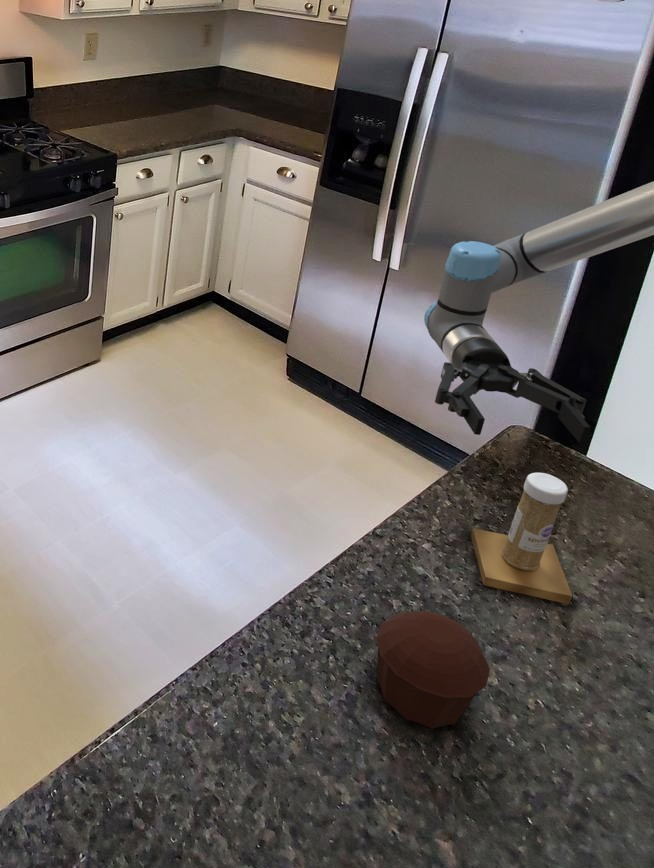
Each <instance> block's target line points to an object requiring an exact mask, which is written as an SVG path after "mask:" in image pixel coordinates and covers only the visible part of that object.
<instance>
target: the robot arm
mask: <svg viewBox="0 0 654 868" xmlns="http://www.w3.org/2000/svg"><path fill="white" fill-rule="evenodd" d="M651 236H654V181H651V182H648V183H645V184H643V185H641V186H639V187H635V188H633V189H631V190H628V191H626V192H624V193H621V194H619V195H616V196H614V197H611V198H608V199H606V200H604V201H601V202H599V203H596V204H593V205H591V206H589V207H586V208H584V209H582V210H579V211H577V212H574V213H572V214H569V215H567V216H563V217H561V218H559V219H556V220H554V221H551V222H549V223H547V224H544V225H542V226H539V227H537V228H534V229H531V230H529V231H528V232H524V233H522V234H519V235H517V236H514V237H511V238H508V239H506V240H503V241H501V242H499V243H496V244H494V245H491V244H489V243H487V242H480V241H472V240H469V241H460V242H457V243H455V244H453V246H452V247H451V248H450V251H449V254H448V257H447V259H446V262H445V265H444V272H443V275H442V281H441V284H440V289H439V294H438V298H437V300H436V301H434V302H433V303H432V304H431V305H430V306H429V307H428V308H427V309H426V311H425V313H424V316H423V317H424V318H423V321H424V325H425V327H426V329H427V330H428V331H427V332H428V334H429V337H430V338H431V339H432V340H433V341H434V342H435V343H436V345H437V347H438V348H439V349H440V350H441V352H442V353H443V354H444V356H445V358H446V359H447V361H448V362H447V361H445V362H444V363H443V365H442V369H441V373H440V378H441V380H440V383H439V385H438V388H437V392H436V396H435V399H434V404H437V405H444V404H448V407H447V411H449V412H450V413H456V415H457V416H459V417H460V418H464V420H465V422H466V423H467V425H468V427H469V428H470V430H471V431H472V433H473V434H474V435H477V436H480V435H481V434H482V431H483V427H484V423H485V420H486V419H485V416H483V414H482V412H481V411H480V409H479V408H478V407H477V405H476V404H475V402H474V401H473V399H472V398H471V397H472V396H473V395H474V396H475V395H476V394H478V393H479V392H480V391H482V390H483V391H484V392H490V393H491V392H497V393H505V394H508V395H510V396H512V397H514V398H517V399H518V398H519V399H520V398H523V399H526V400H528V401H529V402H532V403H534V404H536V405H538V406H541V407H543V408H544V409H545V408H546V409H548V410H549V411H552V412H555V413H556V414H557V418H558V420H559V421H560V422H561V423H562V424H563V425H564V427H565V428H566V429H567V430H568V431H569V433H570V434H571V435H572V436H573V438H575V441H577V442H578V444H586V442H587V440H588V436H589V434H590V431H591V428H592V427H591V426H590V425H589V423H588V422H587V421H586V416H585V415H584V414H583V411H584V408H585V405H586V403H587V399H586V398H584V397H582V396H581V395H579V394H577V393H575V392H573V391H571V390H570V389H568V388H566V387H564V386H563V385H561V384H559V383H557V382H555V381H553V380H552V379H550V378H548V377H546V376H545V375H543V374H542V372H540V371H538V370H537V369H535V368H528V370H527V372H520V371H519V370H517V369H515V368H514V367H513V366H512V364H511V361H510V359H509V357H508V355H507V353H506V352H505V351H504V350H503V349H502V348H501V347H500V345H499V344H498V343H497V342H496V341H495V339H494V338H493V337H492V336H491V335H490V334H489V332H488V331H487V330H486V328H485V327H484V326H483V323H484V319H485V317H486V312H487V310H488V306H489V302H490V299H491V297H492V294H493V293H496V292H498V291H500V290H502V289H505V288H507V287H510V286H512V285H514V284H517V283H520V282H522V281H525V280H528V279H531V278H534V277H537V276H540V275H542V274H545V273H547V272H550V271H553V270H556V269H558V268H561V267H565V266H567V265H570V264H573V263H576V262H580V261H582V260H584V259H585V260H586V259H588V258H590V257H594V256H596V255H600V254H603V253H605V252H608V251H612V250H613V249H616V248H620V247H623V246H625V245H628V244H631V243H634V242H636V241H641V240H643V239H646V238H648V237H651ZM458 377H459V378H460V380H461V381H462V382H461V383H460V384H459V385H458V386H457V387H455V388H454V389H453V390H452V391H450V388H451V387H452V383H453V382H454V381H455V380H457V379H458ZM515 387H516V389H514V388H515Z"/></svg>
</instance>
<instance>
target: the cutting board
mask: <svg viewBox="0 0 654 868" xmlns="http://www.w3.org/2000/svg"><path fill="white" fill-rule="evenodd" d="M470 538H471V539H470V540H471V541H472V542H471V543H472V546H473V550H474V554H475V559H476V562H477V566H478V571H479V574H480V578H481V582H482V586H485V587H490V588H494V589H497V590H503V591H507V592H512V593H516V594H520V595H525V596H530V597H534V598H539V599H542V600H547V601H552V602H556V603H561V604H564V605H566V604H567V605H570V603H571V601H572V599H573V593H572V590H571V588H570V586H569V583H568V580H567V577H566V575H565V572H564V570H563V567H562V565H561V562H560V559H559V557H558V554H557V551H556V549H555V546H554V544H552V543H549V542H548V543H547V546H546V548H545V550H544V552H543V555H542V558H541V560H540V566H539V568H538V569H536V570H533V571H525V570H521V569H518V568H516V567H514V566H512V565H511V564H509V563H508V562H507V561H506V560H505V559H504V558H503V556H502V550H503V549H504V547H505V544H506V542H507V539H508V534H503V533H499V532H494V531H489V530H483V529H479V528H475V527H474V528H473V529H472V530H471V534H470Z"/></svg>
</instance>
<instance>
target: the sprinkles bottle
mask: <svg viewBox="0 0 654 868" xmlns="http://www.w3.org/2000/svg"><path fill="white" fill-rule="evenodd" d="M568 492H569V488H568V486H567V484H566V483H565V482H564V481H563V480H561V479H560V478H558V477H556V476H554V475H552V474H549V473H545V472H532V473H530V474H528V475H527V476H526V478H525V481H524V484H523V493H522V494H521V497H520V500H519V504H518V505H517V508H516V511H515V513H514V516H513V519H512V522H511V525H510V528H509V531H508V534H507V535H508V539H507V542H506V544H505V547H504V549H503V550H502V556H503V558H504V559H505V560H506V561H507V562H508V563H509V564H511V565H512V566H514V567H516V568H518V569H521V570H525V571H533V570H536V569H538V568H539V566H540V560H541V558H542V555H543V552H544V550H545V548H546V546H547V543H548V544H549V540H550V537H551V534H552V532H553V529H554V525H555V522H556V519H557V517H558V514H559V511H560V508H561V506H562V504H563V503H564V502H565V500H566V498H567V495H568Z"/></svg>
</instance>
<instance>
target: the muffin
mask: <svg viewBox="0 0 654 868" xmlns="http://www.w3.org/2000/svg"><path fill="white" fill-rule="evenodd" d="M375 640H376V643H377V661H376V662H377V663H376V665H377V666H376V681H377V683H378V685H379V687H380V689H381V694H382V697H383V701H385V702H386V703H387V704H388V705H389V706H391V707H392V708H393V709H395V710H396V711H397V712H398V713H399V715H401V716H402V717H403V718H404V719H405V720H408V721H411V722H415V723H418V724H420V725H422V726H425V727H427V728H430V729H436V728H439V727H443V726H451V725H453V726H454V725H456V723H457V722H458V720H459V719H460V718H461V716H462V715H463V713H464V712H465V711H466V709H467V708H468V706H469V704H470V703H471V702H472V700H473V699H474V698H475V696H476V694H477V693H478V692H480V691H482V690H484V689H485V688H486V687H487V686H488V681H489V675H490V671H491V668H490V666H489V664H488V661H487V658H486V657H485V654H484V652H483V650H482V648H481V646H480V644H479V642H478V640H477V639H476V638H475V636H474V635H472V634H471V632H470V631H468V629H466V628H465V626H464V625H463V624H461V623H459V622H458V621H456V620H454V619H452V618H450V617H449V616H448V615H446V614H443V613H437V612H435V611H429V610H415V611H413V610H411V611H406V612H402V613H399V614H394V615H393V616H391V617H390V618H388V619H386V620H384V621H383V622H381V624H380V626H379V629H378V632H377V634H376V636H375Z"/></svg>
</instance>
